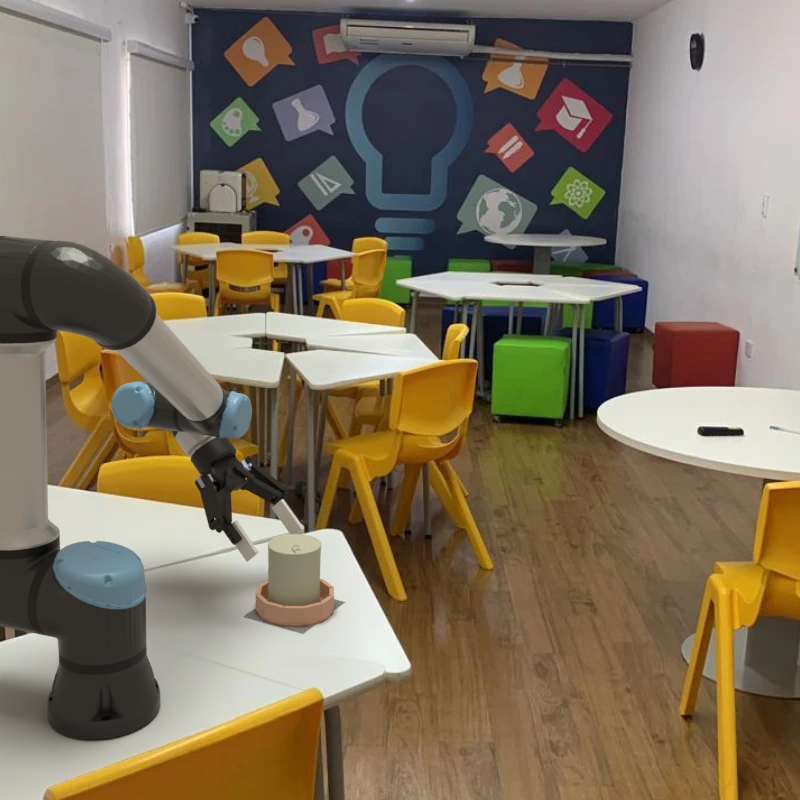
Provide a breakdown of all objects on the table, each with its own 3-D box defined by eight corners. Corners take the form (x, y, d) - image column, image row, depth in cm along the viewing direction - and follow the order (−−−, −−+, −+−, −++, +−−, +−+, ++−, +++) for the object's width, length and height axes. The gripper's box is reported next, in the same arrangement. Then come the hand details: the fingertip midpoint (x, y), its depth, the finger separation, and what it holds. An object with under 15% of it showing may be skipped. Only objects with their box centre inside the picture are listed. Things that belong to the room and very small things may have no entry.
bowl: (307, 633, 161) (308, 614, 160) (240, 614, 166) (240, 596, 165) (347, 603, 172) (347, 585, 171) (283, 586, 178) (284, 569, 177)
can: (271, 620, 163) (271, 553, 161) (263, 596, 172) (263, 532, 169) (325, 615, 166) (326, 549, 163) (315, 592, 175) (316, 529, 172)
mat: (303, 635, 161) (303, 633, 161) (242, 618, 166) (242, 616, 166) (345, 604, 173) (345, 602, 173) (287, 588, 178) (287, 586, 178)
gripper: (171, 449, 158) (245, 556, 155) (261, 419, 180) (328, 512, 177) (146, 475, 162) (218, 579, 159) (237, 442, 184) (303, 534, 180)
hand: (276, 544), depth 168 cm, fingers open, 13 cm apart
